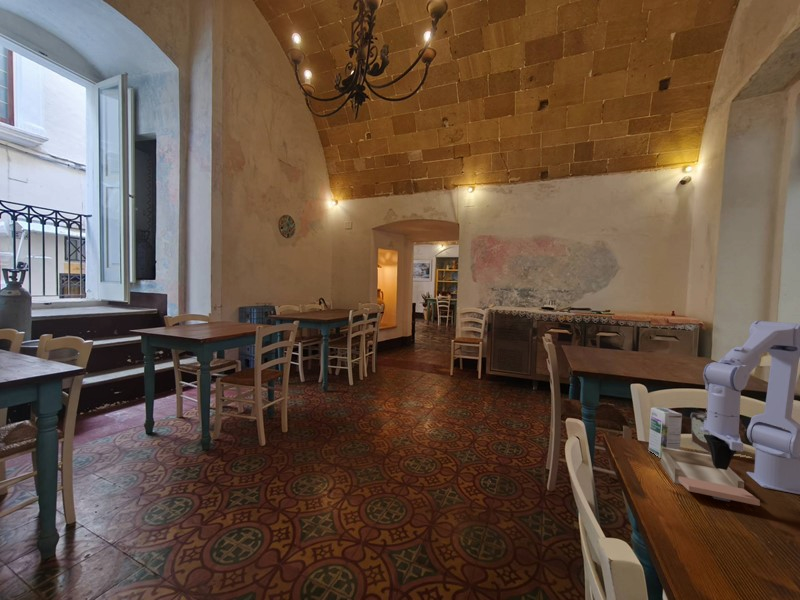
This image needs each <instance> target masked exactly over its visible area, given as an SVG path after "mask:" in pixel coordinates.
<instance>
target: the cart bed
mask: <svg viewBox="0 0 800 600" xmlns="http://www.w3.org/2000/svg"><path fill="white" fill-rule="evenodd" d="M660 465H661V466H662V468H663V469H664V470H665V472H666V474H667V475H668V476H669V478H670V479H671V480H672V482H673V483H674V484H675V485H681V486H683V485H682V484H681V483H680V482H679V481H678V476H681V477H686V478H691V479H696V480H701V481H707V482H712V483H717V484H722V485H727V486H732V487H737V488H742V489H744V490H745V481H744V480H743V479H742V478H741V477H740V476H739V475H738V474H737V473H736V472H735V471H733V470H732V468H730V467H729V466H728V468H727V470H724V469H719V468H716V467H715V466H714V465H713V461H712V457H711V454H707V453H701V452H694V451H689V450H683V449H680V450H678V449H673V448H667V447H661V459H660Z"/></svg>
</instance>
